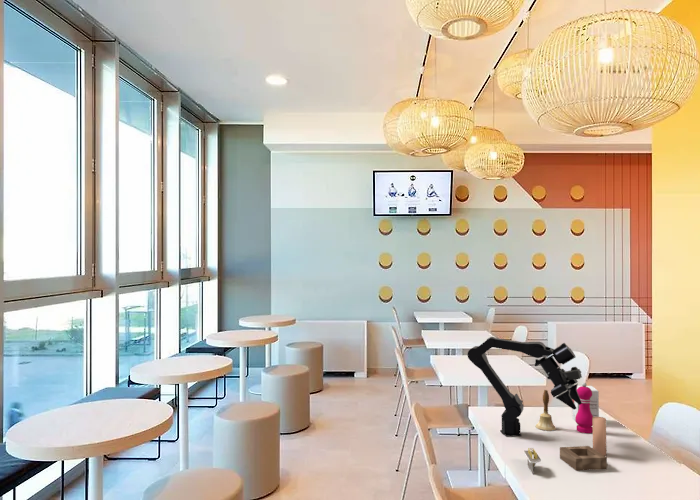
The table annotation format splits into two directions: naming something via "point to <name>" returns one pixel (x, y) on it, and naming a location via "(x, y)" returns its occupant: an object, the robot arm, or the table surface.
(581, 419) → the pepper mill
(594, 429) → the peg
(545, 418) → the hand bell
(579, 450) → the socket
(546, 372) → the robot arm
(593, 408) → the supplement box
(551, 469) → the table surface
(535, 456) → the platform
